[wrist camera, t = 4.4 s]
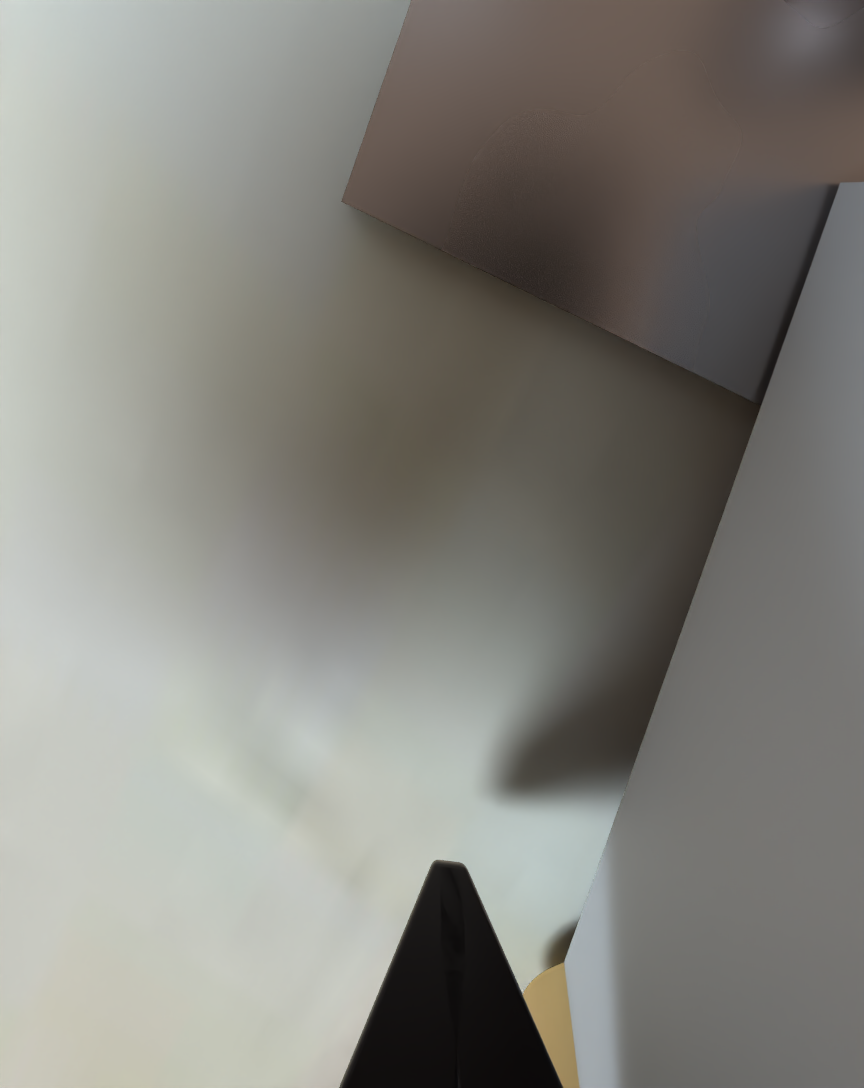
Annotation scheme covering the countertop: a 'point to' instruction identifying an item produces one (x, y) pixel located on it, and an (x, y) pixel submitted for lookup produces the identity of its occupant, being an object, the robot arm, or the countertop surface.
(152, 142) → the countertop surface
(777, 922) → the gate
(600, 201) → the peg on base plate
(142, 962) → the countertop surface
